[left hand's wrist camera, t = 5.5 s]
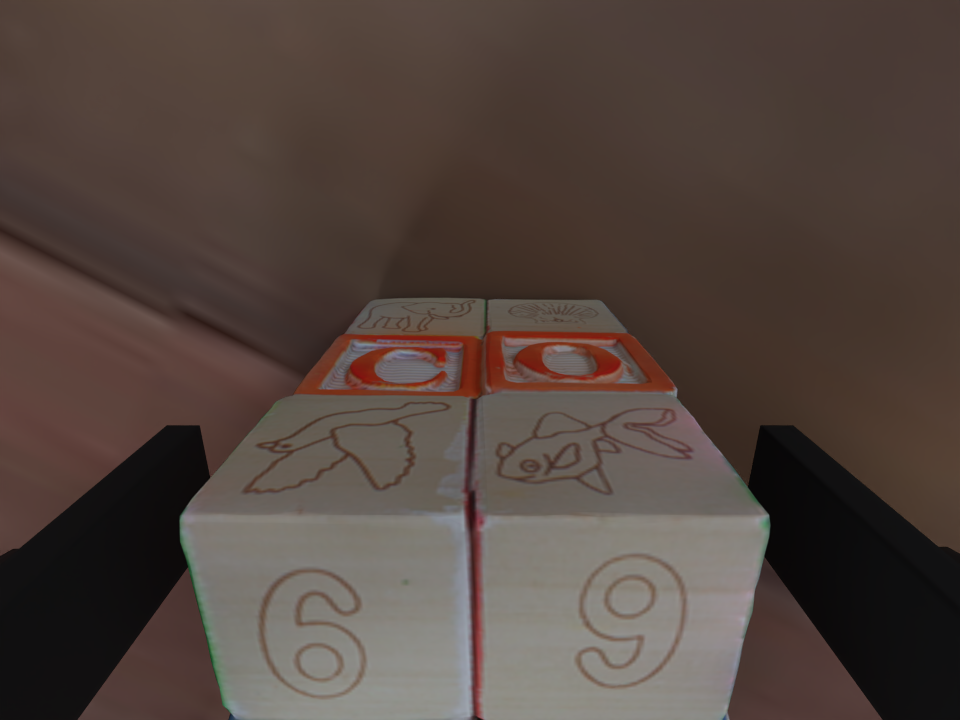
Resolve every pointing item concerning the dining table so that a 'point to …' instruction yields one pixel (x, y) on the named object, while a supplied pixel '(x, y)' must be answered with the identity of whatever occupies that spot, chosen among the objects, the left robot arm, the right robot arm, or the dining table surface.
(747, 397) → the dining table surface
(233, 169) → the dining table surface
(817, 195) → the dining table surface
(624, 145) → the dining table surface
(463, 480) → the stack of blocks
